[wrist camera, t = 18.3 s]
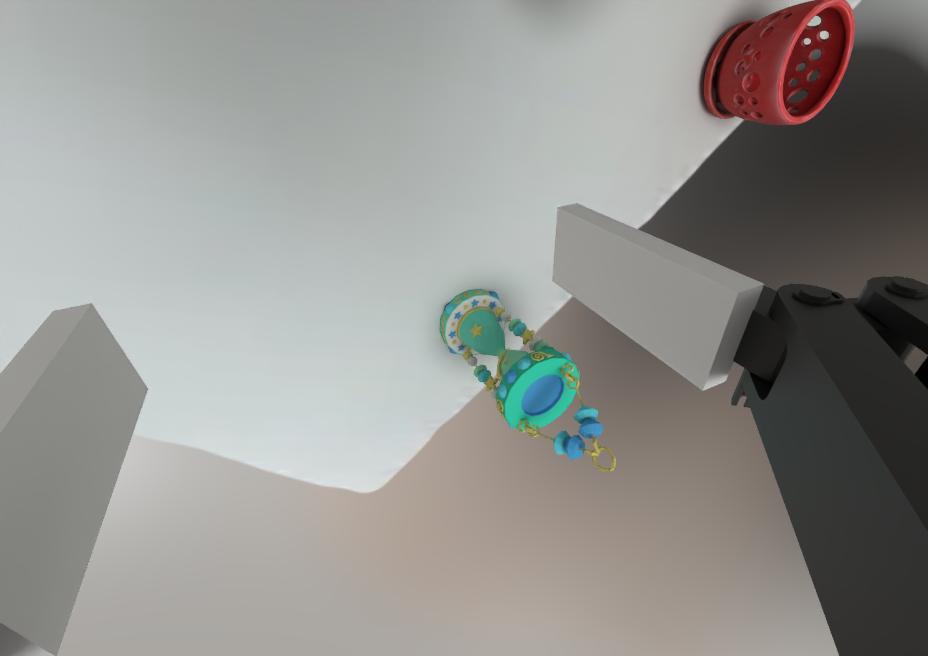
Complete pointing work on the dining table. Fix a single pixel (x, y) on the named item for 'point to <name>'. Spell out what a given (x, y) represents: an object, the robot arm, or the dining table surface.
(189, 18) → the dining table surface
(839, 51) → the plant pot
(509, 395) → the decorative hourglass
